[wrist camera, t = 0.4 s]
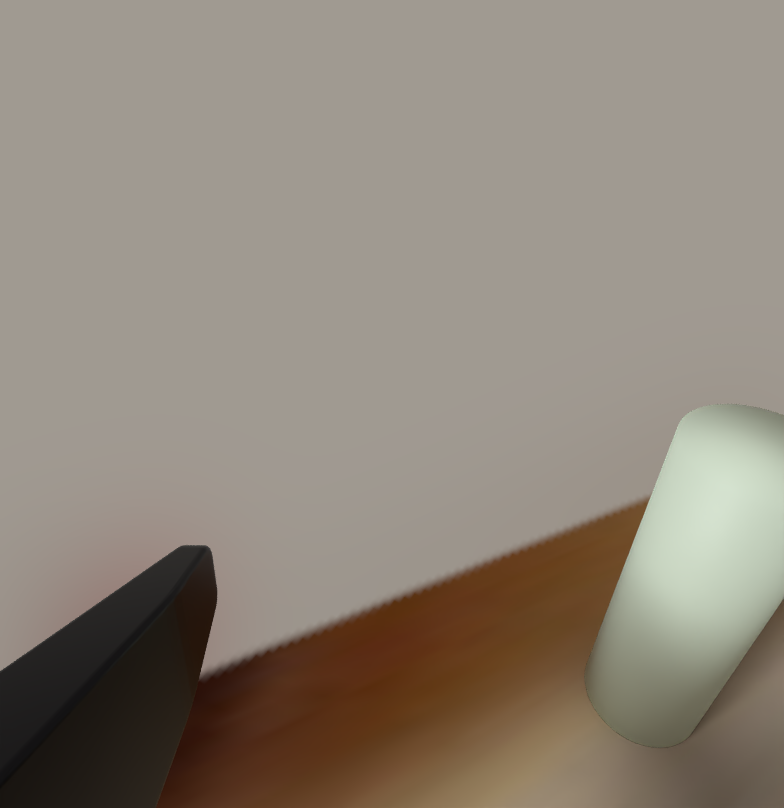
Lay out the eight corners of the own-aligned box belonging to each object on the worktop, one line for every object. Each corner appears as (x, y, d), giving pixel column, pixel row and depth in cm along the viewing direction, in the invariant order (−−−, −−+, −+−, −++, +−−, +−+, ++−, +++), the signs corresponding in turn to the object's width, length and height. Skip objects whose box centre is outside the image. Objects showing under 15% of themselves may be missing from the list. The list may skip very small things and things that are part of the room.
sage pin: (721, 739, 22) (900, 504, 15) (611, 755, 22) (735, 521, 14) (664, 634, 26) (784, 398, 18) (568, 646, 25) (648, 409, 18)
